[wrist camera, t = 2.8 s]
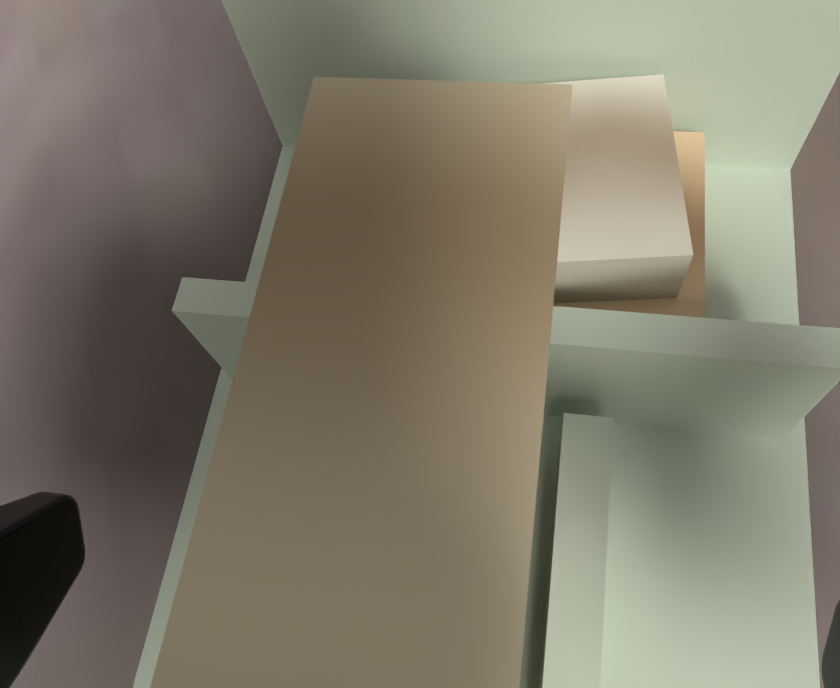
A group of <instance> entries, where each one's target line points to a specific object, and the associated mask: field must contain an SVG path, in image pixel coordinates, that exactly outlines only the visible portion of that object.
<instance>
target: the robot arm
mask: <svg viewBox="0 0 840 688" xmlns="http://www.w3.org/2000/svg"><path fill="white" fill-rule="evenodd" d="M84 559H85V545H84V539H83V532H82V526H81V520H80V514H79V507H78V504H77V502H76V500H75V499H74V498H73V497H72V496H70V495H65V494H58V493H50V492H39V493H36V494H33V495H30V496H27V497H24V498H22V499H19V500H16V501H13V502H10V503H7V504H5V505H2V506H0V688H10V686H11V685H12V683H13V682H14V681H15V679H16V678H17V676H18V675H19V673H20V671H21V670H22V668H23V667H24V665H25V664H26V662H27V660H28V659H29V657H30V655H31V654H32V652H33V650H34V649H35V647H36V645H37V644H38V642H39V640H40V639H41V637H42V635H43V633H44V632H45V630H46V628H47V627H48V625H49V623H50V622H51V620H52V618H53V617H54V615H55V613H56V611H57V610H58V608H59V606H60V605H61V603H62V601H63V600H64V598H65V596H66V595H67V593H68V591H69V589H70V588H71V586H72V584H73V583H74V581H75V579H76V578H77V576H78V574H79V573H80V570H81V568H82V566H83V563H84ZM822 680H823V685H824V688H840V600H839V602H838V604H837V605H836V608H835V611H834V614H833V618H832V622H831V626H830V630H829V633H828V637H827V641H826V645H825V648H824V652H823V657H822Z"/></svg>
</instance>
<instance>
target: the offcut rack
mask: <svg viewBox="0 0 840 688" xmlns="http://www.w3.org/2000/svg"><path fill="white" fill-rule="evenodd" d="M221 1H222V3H223V6H224V8H225V10H226V13H227V15H228V17H229V20H230V22H231V25H232V27H233V29H234V32H235V34H236V36H237V39H238V41H239V44H240V46H241V48H242V51H243V53H244V55H245V58H246V60H247V63H248V65H249V67H250V70H251V72H252V74H253V77H254V79H255V82H256V84H257V86H258V89H259V91H260V93H261V96H262V98H263V101H264V103H265V105H266V108H267V110H268V112H269V115H270V117H271V119H272V122H273V124H274V127H275V129H276V131H277V134H278V136H279V138H280V141H281V143H282V146H283V147H282V150H281V154H280V157H279V161H278V165H277V168H276V172H275V176H274V179H273V183H272V186H271V190H270V194H269V197H268V201H267V204H266V208H265V212H264V215H263V219H262V222H261V226H260V230H259V233H258V237H257V241H256V244H255V248H254V251H253V255H252V259H251V262H250V266H249V269H248V273H247V277H246V280H245V282H239V281H226V280H213V279H200V278H187V277H182V280H181V283H180V286H179V289H178V292H177V295H176V299H175V302H174V305H173V308H172V312H173V313H174V314H175V315H176V316H177V317H178V319H179V320H180V321H181V322H182V323H183V324H184V325H185V327H186V328H187V329H188V330H189V331H190V332H191V333H192V335H193V336H194V337H195V338H196V339H197V340H198V341H199V343H200V344H201V345H202V346H203V347H204V348H205V349H206V350H207V352H208V353H209V354H210V355H211V356H212V357H213V358H214V360H215V361H216V362H217V363H218V364H219V365H220V366H221V371H220V374H219V378H218V381H217V385H216V389H215V392H214V396H213V399H212V403H211V407H210V410H209V414H208V418H207V421H206V425H205V428H204V432H203V436H202V439H201V443H200V446H199V450H198V454H197V457H196V461H195V464H194V468H193V472H192V475H191V479H190V483H189V486H188V490H187V493H186V497H185V501H184V504H183V508H182V511H181V515H180V519H179V522H178V526H177V529H176V533H175V537H174V540H173V544H172V548H171V551H170V555H169V558H168V562H167V566H166V569H165V573H164V576H163V580H162V584H161V587H160V591H159V594H158V598H157V602H156V605H155V609H154V613H153V616H152V620H151V623H150V627H149V631H148V634H147V638H146V641H145V645H144V649H143V652H142V656H141V660H140V663H139V667H138V670H137V674H136V678H135V681H134V685H133V688H150V686H151V682H152V678H153V675H154V671H155V667H156V663H157V660H158V656H159V652H160V649H161V645H162V641H163V637H164V634H165V630H166V626H167V622H168V619H169V615H170V611H171V608H172V604H173V600H174V596H175V593H176V589H177V585H178V582H179V578H180V574H181V570H182V567H183V563H184V559H185V555H186V552H187V548H188V544H189V541H190V537H191V533H192V529H193V526H194V522H195V518H196V514H197V511H198V507H199V503H200V500H201V496H202V492H203V488H204V485H205V481H206V477H207V473H208V470H209V466H210V462H211V459H212V455H213V451H214V447H215V444H216V440H217V436H218V432H219V429H220V425H221V421H222V418H223V414H224V410H225V406H226V403H227V399H228V395H229V392H230V388H231V384H232V380H233V377H234V373H235V369H236V365H237V362H238V358H239V354H240V351H241V347H242V343H243V339H244V336H245V332H246V328H247V324H248V321H249V317H250V313H251V310H252V306H253V302H254V298H255V295H256V291H257V287H258V284H259V280H260V276H261V272H262V269H263V265H264V261H265V257H266V254H267V250H268V246H269V243H270V239H271V235H272V231H273V228H274V224H275V220H276V216H277V213H278V209H279V205H280V202H281V198H282V194H283V190H284V187H285V183H286V179H287V175H288V172H289V168H290V164H291V161H292V157H293V153H294V149H295V146H296V142H297V138H298V135H299V131H300V127H301V123H302V120H303V116H304V112H305V108H306V105H307V101H308V97H309V94H310V90H311V86H312V82H313V79H314V77H338V78H371V79H404V80H437V81H470V82H503V83H536V84H540V83H553V82H566V81H579V80H593V79H606V78H619V77H632V76H646V75H659V74H664V79H665V85H666V91H667V97H668V103H669V109H670V115H671V122H672V128H673V131H685V132H705V318H700V317H688V316H675V315H662V314H649V313H636V312H623V311H611V310H598V309H585V308H572V307H559V306H553V314H552V326H551V337H550V348H549V360H548V371H547V383H546V394H545V405H544V417H543V428H542V439H541V451H540V462H539V473H538V485H537V496H536V507H535V518H534V530H533V541H532V552H531V564H530V575H529V586H528V597H527V609H526V620H525V631H524V642H523V654H522V665H521V676H520V688H820V679H819V662H818V645H817V627H816V610H815V592H814V575H813V558H812V540H811V523H810V505H809V488H808V471H807V453H806V436H805V419H804V417H805V416H806V415H807V414H808V413H809V412H810V411H811V410H812V409H813V408H814V407H815V406H816V405H817V404H818V403H819V402H820V401H821V400H822V399H823V398H824V397H825V396H826V395H827V394H828V393H829V392H830V391H831V390H832V389H833V388H834V387H835V386H836V385H837V384H838V383H839V382H840V328H829V327H816V326H803V325H799V314H798V297H797V279H796V262H795V245H794V227H793V210H792V192H791V175H790V169H791V167H792V165H793V163H794V161H795V159H796V157H797V155H798V153H799V151H800V149H801V147H802V145H803V143H804V141H805V139H806V137H807V135H808V133H809V132H810V130H811V128H812V126H813V124H814V122H815V120H816V118H817V116H818V114H819V112H820V110H821V108H822V106H823V104H824V102H825V100H826V98H827V96H828V94H829V92H830V90H831V88H832V86H833V84H834V82H835V80H836V78H837V76H838V74H839V72H840V0H221Z"/></svg>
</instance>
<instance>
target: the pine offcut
mask: <svg viewBox="0 0 840 688" xmlns="http://www.w3.org/2000/svg"><path fill="white" fill-rule="evenodd" d="M673 134H674V140H675V146H676V152H677V158H678V164H679V170H680V176H681V182H682V189H683V195H684V201H685V207H686V213H687V219H688V225H689V231H690V237H691V243H692V249H693V258H692V260H691V263H690V265H689V268H688V270H687V273H686V276H685V278H684V281H683V283H682V286H681V288H680V291H679V294H678V296H677V298H665V299H642V300H620V301H598V302H575V303H553V306H559V307H572V308H585V309H598V310H611V311H623V312H636V313H649V314H662V315H675V316H688V317H700V318H705V132H685V131H673Z"/></svg>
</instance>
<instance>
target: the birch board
mask: <svg viewBox="0 0 840 688" xmlns="http://www.w3.org/2000/svg"><path fill="white" fill-rule="evenodd" d="M572 87H573V85H568V84H536V83H503V82H470V81H437V80H404V79H371V78H338V77H314V79H313V82H312V86H311V90H310V94H309V97H308V101H307V105H306V108H305V112H304V116H303V120H302V123H301V127H300V131H299V135H298V138H297V142H296V146H295V149H294V153H293V157H292V161H291V164H290V168H289V172H288V175H287V179H286V183H285V187H284V190H283V194H282V198H281V202H280V205H279V209H278V213H277V216H276V220H275V224H274V228H273V231H272V235H271V239H270V243H269V246H268V250H267V254H266V257H265V261H264V265H263V269H262V272H261V276H260V280H259V284H258V287H257V291H256V295H255V298H254V302H253V306H252V310H251V313H250V317H249V321H248V324H247V328H246V332H245V336H244V339H243V343H242V347H241V351H240V354H239V358H238V362H237V365H236V369H235V373H234V377H233V380H232V384H231V388H230V392H229V395H228V399H227V403H226V406H225V410H224V414H223V418H222V421H221V425H220V429H219V432H218V436H217V440H216V444H215V447H214V451H213V455H212V459H211V462H210V466H209V470H208V473H207V477H206V481H205V485H204V488H203V492H202V496H201V500H200V503H199V507H198V511H197V514H196V518H195V522H194V526H193V529H192V533H191V537H190V541H189V544H188V548H187V552H186V555H185V559H184V563H183V567H182V570H181V574H180V578H179V582H178V585H177V589H176V593H175V596H174V600H173V604H172V608H171V611H170V615H169V619H168V622H167V626H166V630H165V634H164V637H163V641H162V645H161V649H160V652H159V656H158V660H157V663H156V667H155V671H154V675H153V678H152V682H151V686H150V688H520V676H521V665H522V654H523V642H524V631H525V620H526V609H527V597H528V586H529V575H530V564H531V552H532V541H533V530H534V518H535V507H536V496H537V485H538V473H539V462H540V451H541V439H542V428H543V417H544V405H545V394H546V383H547V371H548V360H549V348H550V337H551V326H552V314H553V303H554V292H555V280H556V269H557V258H558V246H559V235H560V223H561V212H562V201H563V189H564V178H565V167H566V155H567V144H568V133H569V121H570V110H571V98H572Z"/></svg>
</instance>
